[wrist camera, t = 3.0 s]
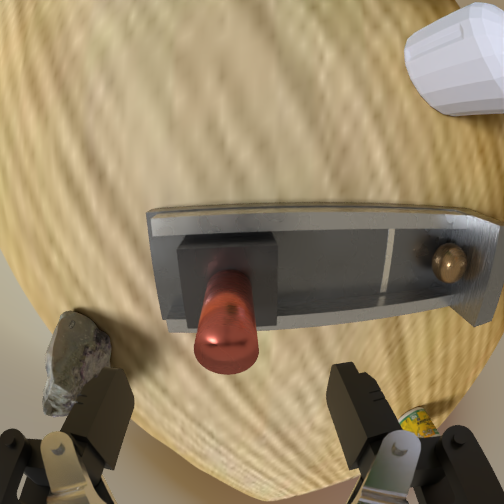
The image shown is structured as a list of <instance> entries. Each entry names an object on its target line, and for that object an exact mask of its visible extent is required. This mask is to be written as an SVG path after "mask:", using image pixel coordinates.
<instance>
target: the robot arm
mask: <svg viewBox="0 0 504 504" xmlns="http://www.w3.org/2000/svg"><path fill="white" fill-rule="evenodd" d="M326 400H327V405H328V408H329V411H330V414H331V417H332V420H333V423H334V426H335V429H336V431H337V434H338V437H339V440H340V443H341V446H342V449H343V452H344V455H345V458H346V461H347V465H348V468H349V470H353V469H356V468H359V470H360V473H361V475H360V477H359V479H358V481H357V483H356V485H355V487H354V489H353V491H352V493H351V495H350V496H349V498H348V500H347V502H346V504H409V503H408V501H406V497H407V494H408V491H409V488H410V487H413V488H414V491H415V494H416V497H417V499H418V502H419V504H504V491H503V489H502V487H501V485H500V483H499V481H498V479H497V477H496V475H495V473H494V471H493V469H492V467H491V465H490V463H489V461H488V460H487V458H486V456H485V454H484V452H483V451H482V449H481V447H480V445H479V444H478V442H477V440H476V438H475V437H474V435H473V433H472V432H471V431H470V430H469V429H468V428H467V427H465V426H460V425H455V426H452V427H449V428H448V429H447V430H446V431H445V432H444V433H443V435H442V436H435V437H425V438H419V437H417V436H416V435H415V434H413V433H412V432H409V431H406V430H403V429H402V427H401V425H400V424H399V422H398V420H397V418H396V416H395V414H394V413H393V411H392V409H391V407H390V405H389V403H388V402H387V400H386V399H385V396H384V394H383V393H382V391H381V389H380V387H379V386H378V384H377V382H376V380H375V379H374V378H372V377H371V376H370V375H369V374H367V373H366V372H364V373H359V372H358V370H357V369H356V367H355V365H354V363H353V362H346V363H340V364H334V365H332V367H331V372H330V377H329V382H328V386H327V391H326ZM75 402H76V403H74V405H73V407H72V409H71V411H70V413H69V414H68V416H67V418H66V420H65V422H64V424H63V426H62V428H61V430H60V431H56V432H52V433H49V434H47V435H46V436H45V437H44V438H43V440H38V439H26V438H25V437H24V435H23V434H22V433H21V432H20V431H19V430H17V429H8V430H6V431H4V432H3V433H2V434H1V436H0V504H117V502H116V500H115V498H114V496H113V494H112V492H111V490H110V488H109V486H108V484H107V482H106V480H105V478H104V476H103V475H102V472H103V469H104V468H106V469H110V470H114V469H115V465H116V462H117V458H118V455H119V452H120V449H121V445H122V442H123V439H124V436H125V433H126V430H127V427H128V424H129V420H130V418H131V415H132V412H133V409H134V395H133V392H132V390H131V388H130V385H129V383H128V380H127V378H126V375H125V373H124V371H123V369H121V368H112V367H103V368H102V369H101V371H100V373H99V375H98V377H97V378H95V377H93V378H92V379H91V380H90V381H88V382H87V383H86V384H85V385H84V387H83V388H82V390H81V392H80V396H78V398H77V399H76V401H75ZM23 473H24V474H25V475H26V476H27V478H26V481H25V484H24V487H23V489H22V493H21V496H20V499H19V500H18V498H17V489H18V487H19V484H20V481H21V478H22V476H23Z"/></svg>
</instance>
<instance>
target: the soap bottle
mask: <svg viewBox="0 0 504 504" xmlns="http://www.w3.org/2000/svg"><path fill="white" fill-rule="evenodd" d="M404 57H405V65H406V68H407V71H408V74H409V76H410V79H411V81H412V83H413V84H414V86H415V88H416V89H417V91H418V92H419V94H420V95H421V96H422V97H423V98H424V100H425V101H426V102H427V103H428V104H429V105H430V106H431V107H433V108H434V109H436V110H438V111H439V112H441V113H442V114H445V115H451V116H463V115H477V114H500V113H504V11H503V10H501V9H500V8H498V7H497V6H495V5H492V4H488V3H480V2H474V3H472V4H470V5H467V6H465V7H463V8H461V9H459V10H457V11H455V12H453V13H450V14H448V15H447V16H445V17H443V18H441V19H439V20H437V21H435V22H433V23H431V24H429V25H428V26H426V27H424V28H422V29H420V30H419V31H417V32H415V33H414V34H413V35H411V36H410V37H409V38H408V39H407V42H406V45H405V49H404Z"/></svg>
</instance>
